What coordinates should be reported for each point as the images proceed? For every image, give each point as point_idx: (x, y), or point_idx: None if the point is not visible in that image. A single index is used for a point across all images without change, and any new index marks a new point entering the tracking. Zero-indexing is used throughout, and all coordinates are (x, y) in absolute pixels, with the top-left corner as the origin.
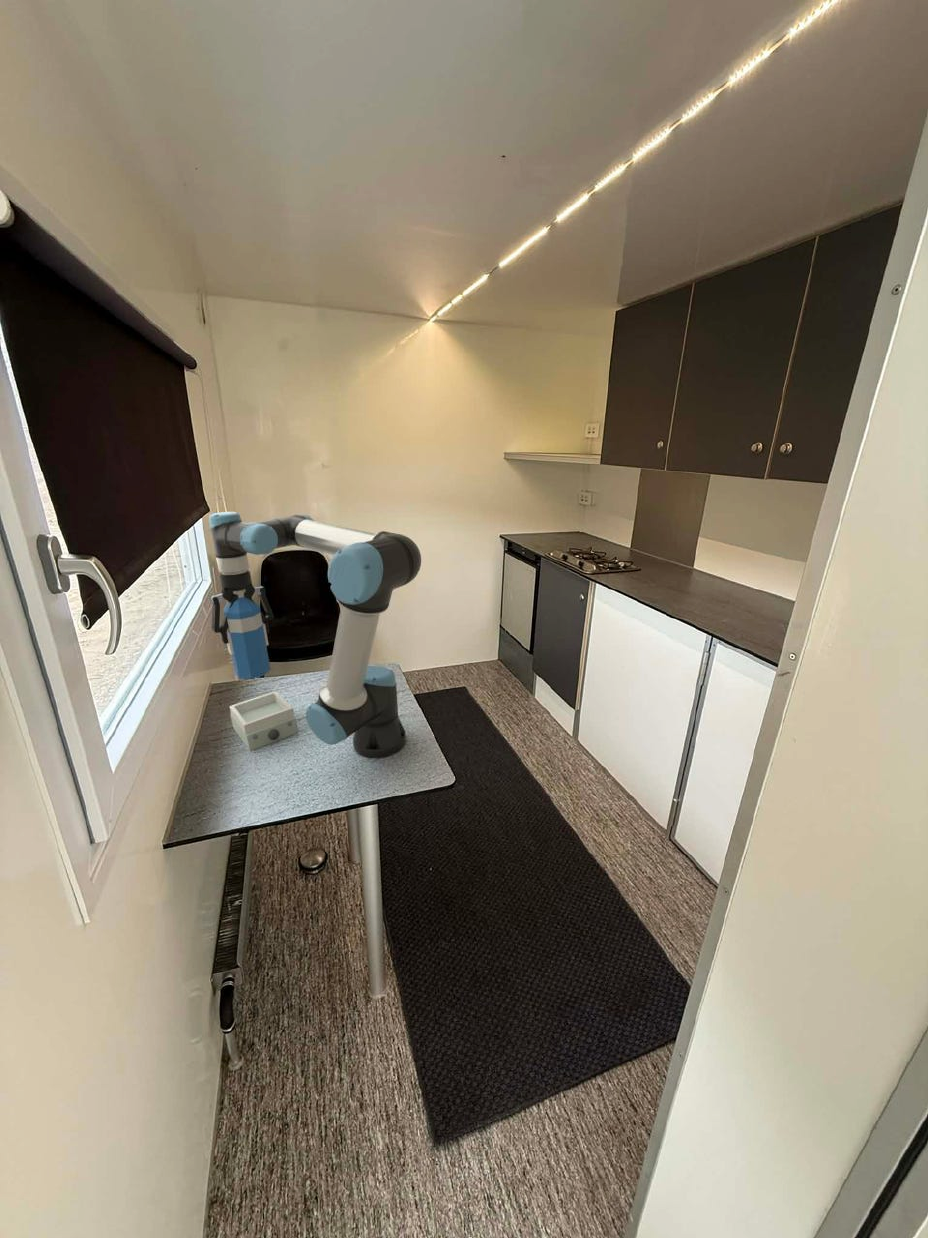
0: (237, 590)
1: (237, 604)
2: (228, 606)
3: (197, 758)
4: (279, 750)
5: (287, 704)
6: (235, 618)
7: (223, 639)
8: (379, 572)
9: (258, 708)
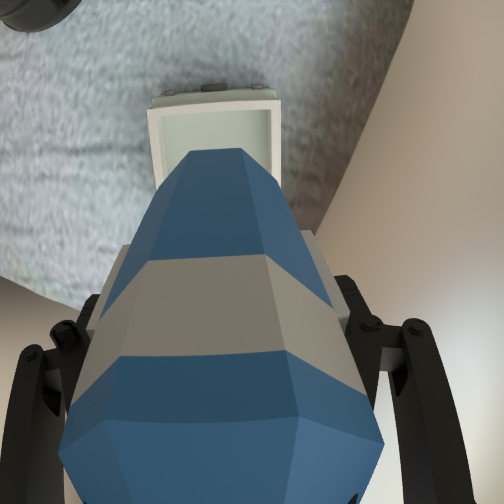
0: None
1: None
2: None
3: (356, 135)
4: (216, 51)
5: (153, 137)
6: (323, 379)
7: (358, 293)
8: None
9: None
